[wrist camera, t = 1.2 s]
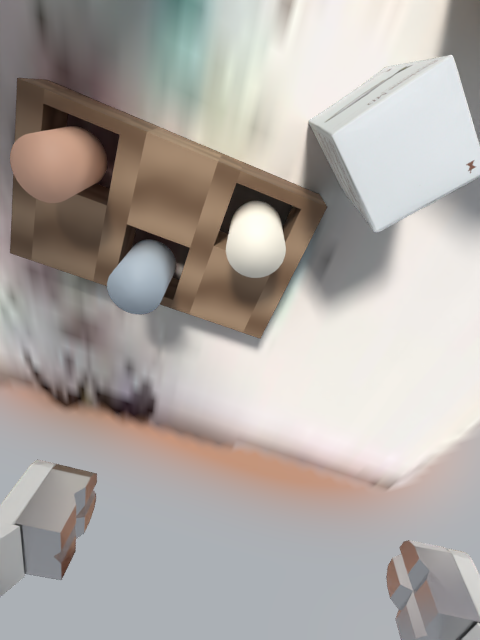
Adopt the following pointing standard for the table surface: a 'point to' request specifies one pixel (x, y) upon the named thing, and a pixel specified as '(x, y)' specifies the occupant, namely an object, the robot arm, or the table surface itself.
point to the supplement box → (401, 140)
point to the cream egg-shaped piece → (255, 240)
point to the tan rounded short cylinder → (58, 162)
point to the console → (156, 211)
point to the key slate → (142, 277)
